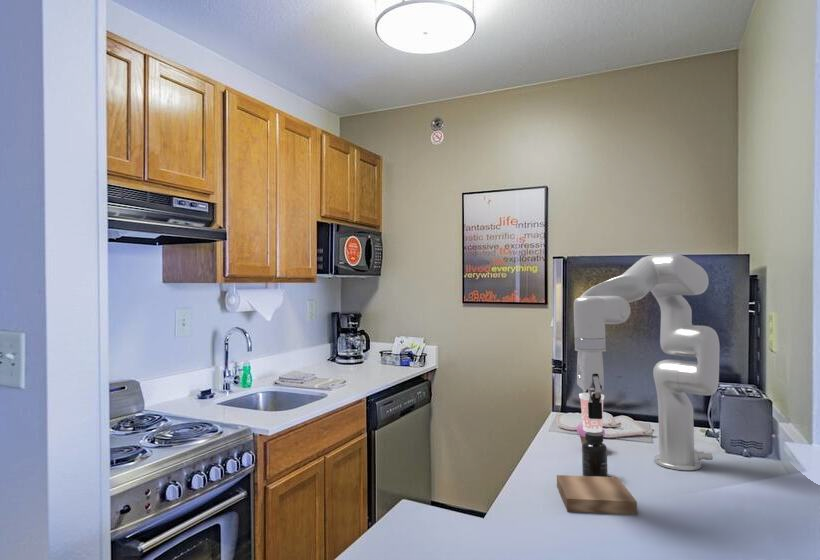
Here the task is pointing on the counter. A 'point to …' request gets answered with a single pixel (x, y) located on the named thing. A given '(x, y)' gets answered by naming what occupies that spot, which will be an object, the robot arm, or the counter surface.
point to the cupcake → (582, 432)
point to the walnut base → (595, 494)
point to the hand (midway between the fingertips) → (592, 414)
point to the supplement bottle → (594, 455)
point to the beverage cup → (588, 423)
